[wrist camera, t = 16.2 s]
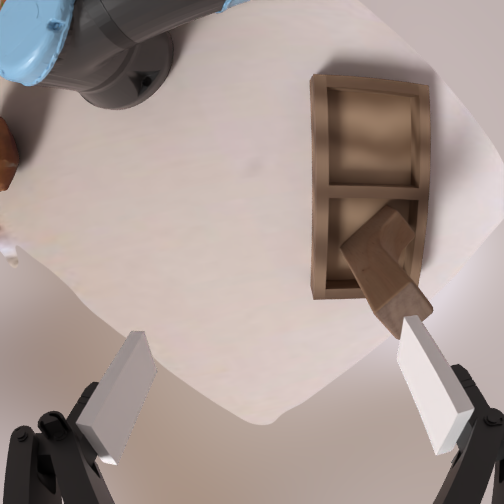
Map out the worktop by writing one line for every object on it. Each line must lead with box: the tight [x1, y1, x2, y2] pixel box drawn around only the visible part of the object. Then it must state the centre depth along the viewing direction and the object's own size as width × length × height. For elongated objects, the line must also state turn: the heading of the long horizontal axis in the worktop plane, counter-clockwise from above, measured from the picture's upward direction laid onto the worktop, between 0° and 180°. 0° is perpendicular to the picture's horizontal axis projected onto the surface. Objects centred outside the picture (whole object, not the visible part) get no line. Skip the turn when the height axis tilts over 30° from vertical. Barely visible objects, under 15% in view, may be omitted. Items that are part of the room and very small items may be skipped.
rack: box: [310, 74, 431, 300], centre depth 39 cm, size 28×15×4 cm, turn 2°
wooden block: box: [340, 205, 433, 340], centre depth 33 cm, size 9×4×18 cm, turn 136°
